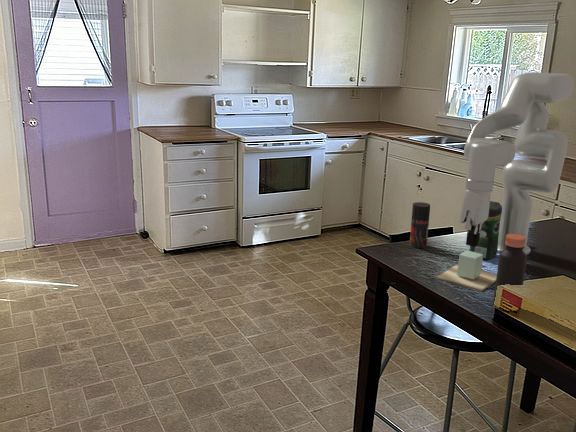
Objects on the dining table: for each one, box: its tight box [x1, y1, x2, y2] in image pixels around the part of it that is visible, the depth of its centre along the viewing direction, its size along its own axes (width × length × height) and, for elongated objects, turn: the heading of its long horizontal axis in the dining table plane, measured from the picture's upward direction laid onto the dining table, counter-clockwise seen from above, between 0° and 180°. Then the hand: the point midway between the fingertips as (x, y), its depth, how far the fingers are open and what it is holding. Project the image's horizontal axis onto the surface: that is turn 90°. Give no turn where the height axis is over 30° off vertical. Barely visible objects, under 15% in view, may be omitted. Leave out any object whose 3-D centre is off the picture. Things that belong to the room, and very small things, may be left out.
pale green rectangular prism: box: [457, 249, 484, 280], centre depth 168 cm, size 5×5×7 cm
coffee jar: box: [469, 200, 502, 260], centre depth 186 cm, size 10×8×19 cm
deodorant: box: [409, 201, 431, 249], centre depth 195 cm, size 6×6×15 cm
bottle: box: [492, 234, 528, 306], centre depth 148 cm, size 7×7×20 cm
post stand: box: [436, 263, 497, 292], centre depth 168 cm, size 14×14×7 cm
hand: (472, 245), depth 166 cm, fingers closed
